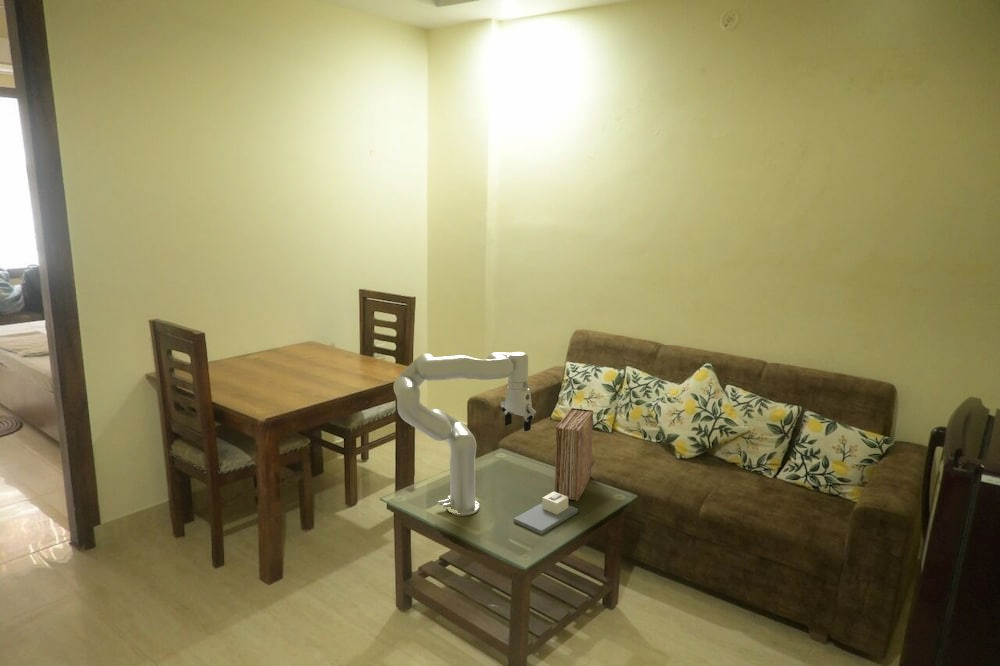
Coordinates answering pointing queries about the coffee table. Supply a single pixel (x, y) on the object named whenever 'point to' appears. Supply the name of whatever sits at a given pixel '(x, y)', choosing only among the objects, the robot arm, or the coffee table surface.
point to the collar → (555, 503)
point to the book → (573, 453)
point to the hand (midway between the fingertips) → (517, 427)
